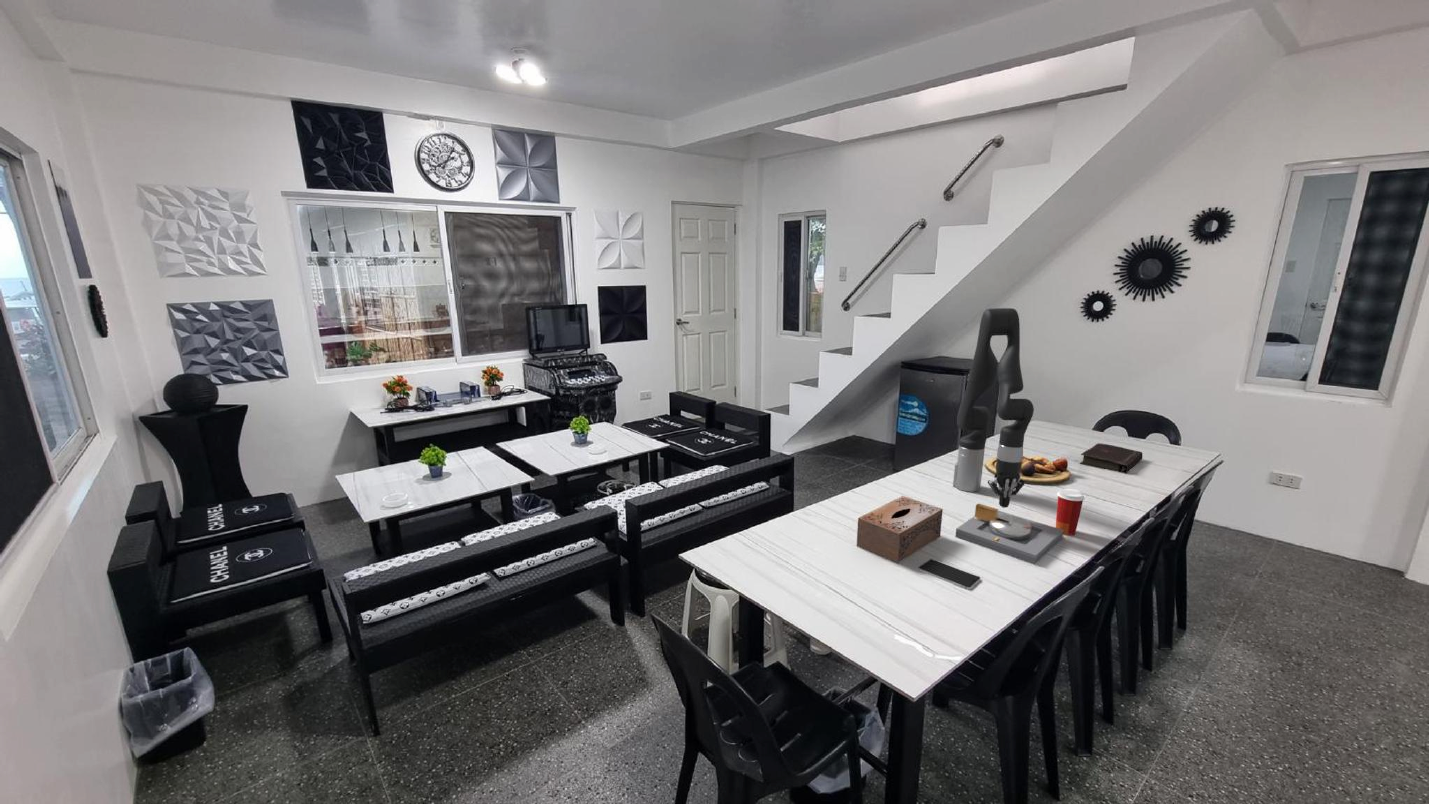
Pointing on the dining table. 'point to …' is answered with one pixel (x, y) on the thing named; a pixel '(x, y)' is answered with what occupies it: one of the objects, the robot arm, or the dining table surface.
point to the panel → (1024, 550)
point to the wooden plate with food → (1038, 470)
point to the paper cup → (1068, 510)
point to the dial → (1004, 523)
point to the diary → (1111, 457)
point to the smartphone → (949, 574)
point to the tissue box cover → (899, 528)
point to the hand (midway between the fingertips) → (1003, 506)
